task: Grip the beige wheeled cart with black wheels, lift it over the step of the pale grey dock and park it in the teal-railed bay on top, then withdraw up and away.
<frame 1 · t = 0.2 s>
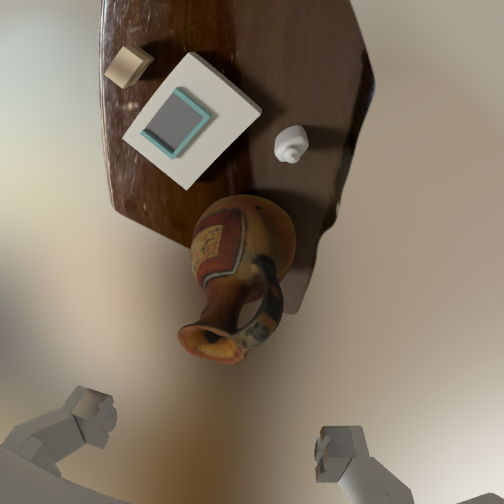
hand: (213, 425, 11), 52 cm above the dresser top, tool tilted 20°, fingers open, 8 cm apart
ceramic pitcher: (247, 226, 67), on the dresser top
dock: (192, 119, 54), on the dresser top
beige wheeled cart: (138, 63, 47), on the dresser top
eye dropper bottle: (290, 135, 54), on the dresser top
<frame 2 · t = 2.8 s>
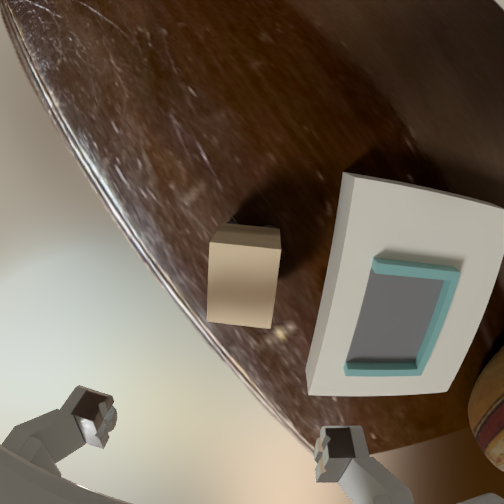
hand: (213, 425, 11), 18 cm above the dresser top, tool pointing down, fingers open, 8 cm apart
dock: (403, 290, 28), on the dresser top
beige wheeled cart: (248, 254, 28), on the dresser top
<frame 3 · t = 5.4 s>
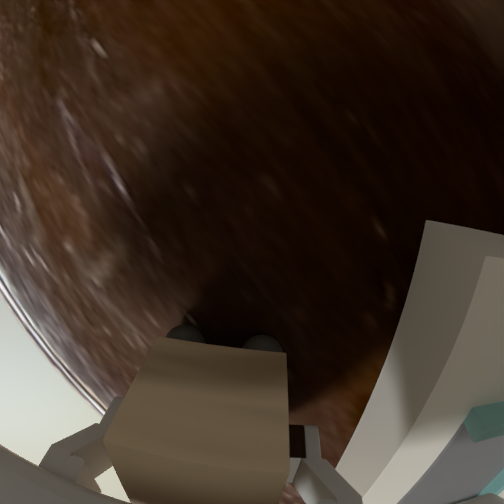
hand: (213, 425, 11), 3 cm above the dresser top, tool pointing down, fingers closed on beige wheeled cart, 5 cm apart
dock: (478, 404, 13), on the dresser top
beige wheeled cart: (223, 378, 13), on the dresser top, touching gripper
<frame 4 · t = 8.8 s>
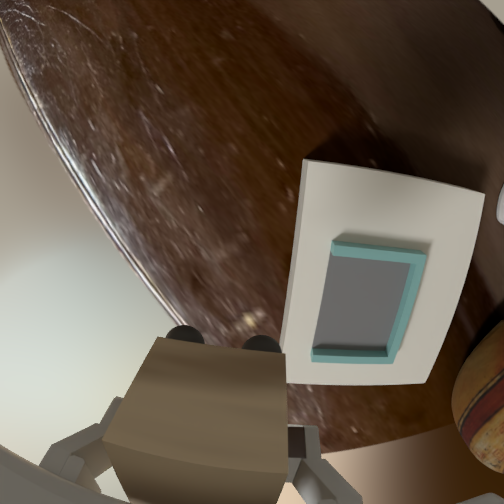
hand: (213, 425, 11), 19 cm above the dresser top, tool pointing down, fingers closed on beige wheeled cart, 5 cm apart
ceramic pitcher: (498, 354, 31), on the dresser top
dock: (372, 277, 29), on the dresser top
beige wheeled cart: (222, 378, 13), point 16 cm above the dresser top, touching gripper
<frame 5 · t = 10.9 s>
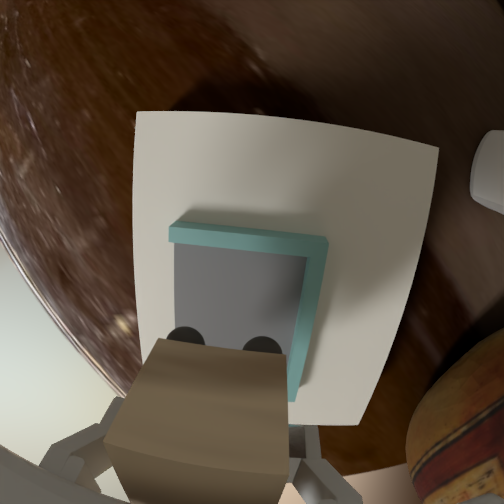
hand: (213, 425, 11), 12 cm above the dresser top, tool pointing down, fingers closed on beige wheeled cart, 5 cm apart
ceramic pitcher: (477, 382, 24), on the dresser top
dock: (271, 277, 21), on the dresser top
beige wheeled cart: (223, 379, 13), point 9 cm above the dresser top, touching gripper
eye dropper bottle: (486, 167, 18), on the dresser top
when the fingers open (8 cm above the dresser top, at t = 12.4 s): beige wheeled cart drops 1 cm, resting on dock.
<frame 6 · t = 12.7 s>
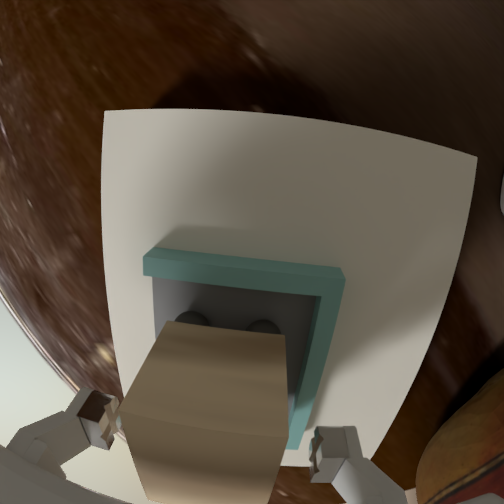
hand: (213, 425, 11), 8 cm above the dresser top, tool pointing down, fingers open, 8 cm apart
ceramic pitcher: (493, 408, 21), on the dresser top
dock: (272, 307, 18), on the dresser top
beige wheeled cart: (226, 362, 14), point 4 cm above the dresser top, touching dock
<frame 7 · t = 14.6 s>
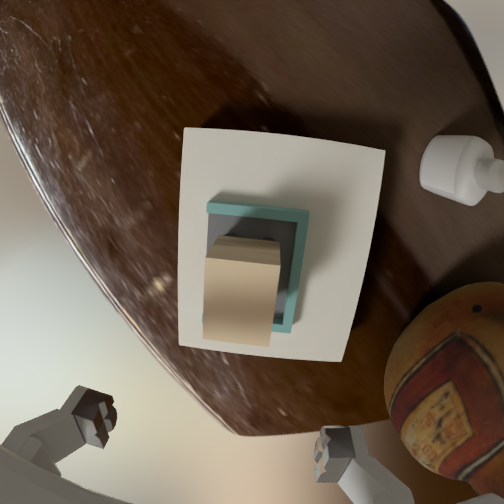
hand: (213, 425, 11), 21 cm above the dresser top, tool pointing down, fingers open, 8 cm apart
ceramic pitcher: (446, 341, 33), on the dresser top
dock: (273, 244, 30), on the dresser top
beige wheeled cart: (247, 267, 27), point 4 cm above the dresser top, touching dock
eye dropper bottle: (434, 163, 27), on the dresser top
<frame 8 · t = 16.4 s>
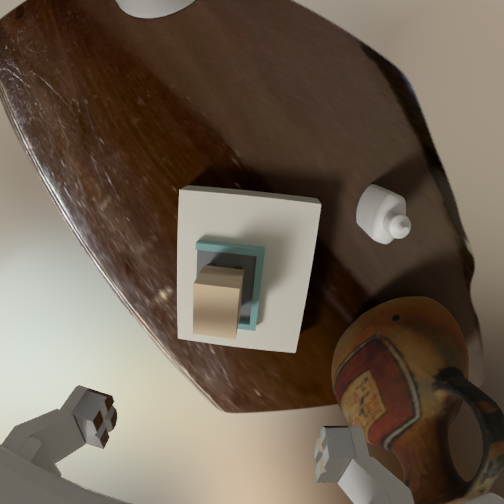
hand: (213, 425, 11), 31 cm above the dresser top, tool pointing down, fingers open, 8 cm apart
ceramic pitcher: (388, 341, 45), on the dresser top
dock: (244, 266, 42), on the dresser top
beige wheeled cart: (224, 285, 38), point 4 cm above the dresser top, touching dock
eye dropper bottle: (369, 205, 38), on the dresser top
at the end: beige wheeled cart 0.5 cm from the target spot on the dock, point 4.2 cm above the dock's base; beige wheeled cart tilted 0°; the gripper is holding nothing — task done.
